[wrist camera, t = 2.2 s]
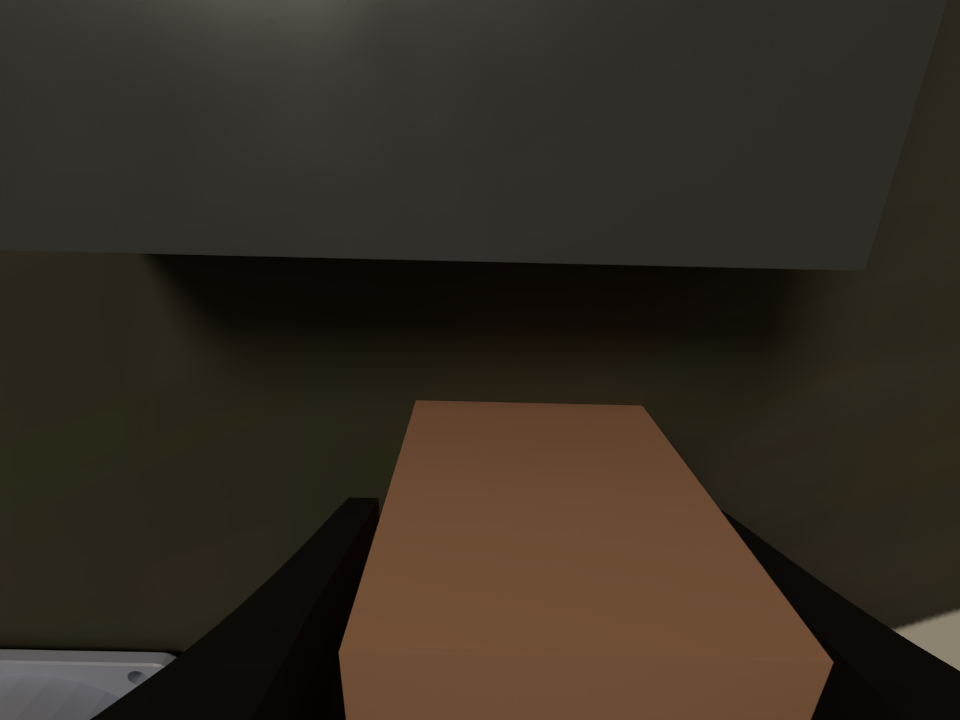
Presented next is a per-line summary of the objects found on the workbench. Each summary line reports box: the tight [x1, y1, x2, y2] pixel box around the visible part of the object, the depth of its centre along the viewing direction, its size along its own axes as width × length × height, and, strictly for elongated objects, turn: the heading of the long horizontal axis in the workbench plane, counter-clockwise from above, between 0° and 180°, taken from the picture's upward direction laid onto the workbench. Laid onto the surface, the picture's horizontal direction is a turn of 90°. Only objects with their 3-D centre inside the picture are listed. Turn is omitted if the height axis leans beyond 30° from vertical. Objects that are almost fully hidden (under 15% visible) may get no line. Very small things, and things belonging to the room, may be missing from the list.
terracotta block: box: [339, 400, 834, 720], centre depth 8 cm, size 5×5×6 cm
